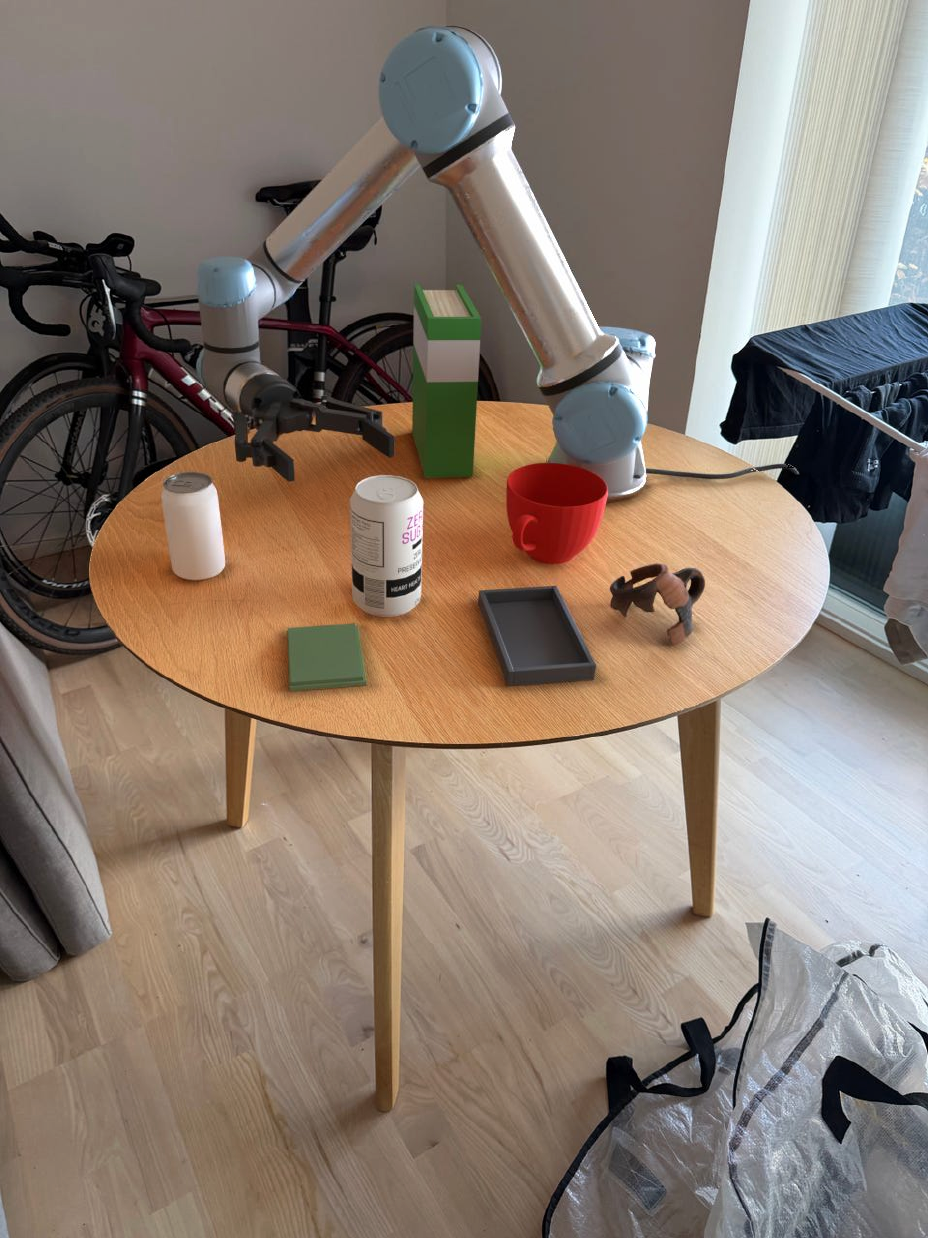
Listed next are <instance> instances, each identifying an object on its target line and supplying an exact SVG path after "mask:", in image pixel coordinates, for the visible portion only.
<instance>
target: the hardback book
mask: <svg viewBox="0 0 928 1238" xmlns="http://www.w3.org/2000/svg"><path fill="white" fill-rule="evenodd" d="M481 335H482V317H481V315H480V313H479V312H478V310H477V308H476V306H475V305H474V303H473V301H472V299H471V298H470V296H469V294H468V292H467V291H466V289H465V288H464V286H463V284H455V289H423V288H422V286H421V284H413V337H412V338H413V344H412V345H413V346H412V347H413V351H412V412H411V413H412V415H411V417H412V418H411V419H412V420H411V421H412V422H411V424H412V425H411V432H412V436H413V440H414V445H415V448H416V451H417V455H418V459H419V462H420V465H421V470H422V474H423V477H424V479H437V478H439V479H440V478H441V479H442V478H473V477H474V465H475V464H474V462H475V446H476V445H475V444H476V426H477V408H478V407H477V405H478V391H479V390H478V388H479V387H478V386H479V372H480V371H479V369H480V351H481Z"/></svg>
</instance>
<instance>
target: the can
mask: <svg viewBox="0 0 928 1238" xmlns="http://www.w3.org/2000/svg"><path fill="white" fill-rule="evenodd" d="M162 486H163V487H162V491H161V506H162V513H163V518H164V519H163V520H164V525H165V532H166V538H167V545H168V551H169V557H170V558H169V559H170V562H171V568H172V571H173V573H174V574H175V575H176V576H177V577H178V578H179V579H180V578H181V579H182V580H185V581H189V582H202V581H206V580H211V579H213V578H216V577H217V576H219V575H220V574H221V573H222V572H223V571H224V570H225V567H226V555H225V547H224V537H223V529H222V528H223V527H222V519H221V512H220V503H219V496H218V495H219V494H218V491H217V488H216V486H215V485H214V484H213V478H212V477H211V476H210V475H209V474H207V473H205V472H200V471H182V472H177V473H174V474H170V475H169V476H168V477H166V478H165V479H163V481H162Z"/></svg>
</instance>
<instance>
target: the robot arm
mask: <svg viewBox="0 0 928 1238" xmlns="http://www.w3.org/2000/svg"><path fill="white" fill-rule="evenodd" d="M501 69H502V68H501V66H500V62H499V59H498V57H497V54H496V52H495V51H494V48H493V47H492V46H491V44H490V43H489V42H488V41H487V40H486V39H485V38H484V37H483V35H480V34H479V33H477V32H476V31H474V30H473V29H471V28H468V27H465V26H459V25H447V26H441V25H439V26H437V25H428V26H424V27H420V28H417V29H416V30H415V31H413V32H411V33H409V34H407V35H406V36H405V37H403V38H402V39H400V40H399V41H398V42H397V43H396V44H395V45H394V47H392V49H391V50H390V51H389V53H388V55H387V56H386V58H385V60H384V62H383V65H382V67H381V70H380V74H379V79H378V87H377V91H378V92H377V95H378V103H379V109H380V113H381V115H382V116H381V117H379V119H378V120H377V121H376V122H375V123H374V125H372V127H370V129H369V130H368V131H367V132H366V133H365V134H364V135H363V136H362V137H361V138H360V139H359V140H358V141H357V143H356V144H355V145H354V146H353V147H352V148H351V149H350V150H349V151H348V152H347V153H346V154H345V155H344V156H343V157H342V158H341V159H340V161H338V163H337V164H335V166H334V167H332V168H331V170H330V171H329V172H328V173H327V174H326V175H325V177H323V179H321V180H320V182H318V184H317V185H316V186H315V187H314V188H313V189H312V190H311V191H310V192H309V193H308V194H307V195H306V196H305V197H304V198H303V200H302V201H301V202H300V203H298V205H297V206H296V207H295V208H294V209H293V210H292V211H291V212H290V213H289V214H288V215H287V217H286V218H285V219H284V220H282V221H281V223H280V224H279V225H278V226H276V228H275V229H274V230H273V231H272V232H271V233H270V234H269V235H268V237H266V239H265V240H264V241H263V242H262V243H261V244H260V245H258V247H257V248H256V249H255V250H254V251H253V252H252V253H251V254H250V255H249V256H248V257H247V258H246V259H245V258H243V257H239V256H238V257H236V256H214V257H212V258H211V257H210V258H205V259H203V260H201V261H200V262H199V263H198V264H197V267H196V284H197V285H196V296H197V299H198V309H199V316H200V323H201V324H200V325H201V332H202V341H203V348H202V349H201V351H199V355H198V356H197V357H198V358H197V359H196V364H195V369H196V371H195V372H196V376H197V377H198V380H199V382H200V383H201V384H202V385H203V386H204V388H205V389H206V390H207V391H208V393H209V394H210V395H211V396H212V397H214V398H215V399H217V400H219V401H221V403H223V404H224V405H226V406H227V407H228V408H229V409H231V410H232V411H233V412H232V422H233V432H234V440H233V441H234V442H233V443H234V453H235V461H236V462H238V463H244V462H246V461H247V459H249V458H250V459H251V460H252V466H253V467H255V468H260V467H265V468H271V469H272V470H274V471H275V472H276V473H278V474H279V476H281V477H282V478H283V479H284V480H285V481H287V482H288V483H291V482H295V480H296V479H295V462H294V458H293V457H292V456H290V455H289V454H288V453H287V452H285V451H284V450H283V449H282V448H280V447H279V446H278V445H276V443H274V442H277V441H278V440H279V438H280V436H282V435H285V434H286V435H287V434H292V433H295V432H303V431H306V432H313V433H321V432H322V431H323V430H324V431H330V432H337V433H344V434H350V435H356V436H361V437H362V441H363V442H365V443H367V444H368V445H369V446H371V447H372V448H374V449H375V450H377V451H378V452H380V453H381V454H382V455H384V456H385V457H387V458H388V459H392V458H395V442H396V440H395V435H393V434H392V433H390V432H388V430H387V428H386V427H384V426H383V411H382V410H381V411H380V410H377V409H373V408H369V407H364V406H361V405H357V404H353V403H350V402H346V401H342V400H338V399H336V398H334V397H332V396H330V395H326V394H324V395H321V396H320V402H312V401H310V400H306V399H303V397H302V395H301V393H300V392H299V390H298V389H297V388H296V387H295V386H294V385H293V384H292V383H290V382H289V381H287V380H286V379H284V378H283V377H281V376H280V375H279V374H278V373H276V372H275V371H273V370H272V369H270V368H269V367H267V366H266V365H264V364H263V363H262V362H261V351H260V350H261V349H260V333H259V321H260V320H261V319H263V318H264V317H265V316H267V315H269V313H271V311H274V310H275V309H276V308H277V307H280V306H282V305H283V304H285V303H286V302H287V301H288V300H289V299H290V298H292V297H293V295H294V294H295V292H296V290H297V289H298V288H299V287H300V286H301V285H302V284H303V283H304V282H305V281H306V279H307V278H309V276H310V275H311V274H313V272H314V271H315V270H317V268H319V266H321V265H322V264H323V263H324V262H325V261H326V260H327V259H328V258H329V257H330V256H331V255H332V254H333V253H334V252H335V251H337V249H338V248H339V247H340V246H341V245H342V244H343V243H344V242H345V241H346V240H347V239H348V238H349V237H350V236H352V234H353V233H354V232H355V231H356V230H357V229H358V228H359V227H360V226H361V225H363V223H364V222H365V221H366V220H368V219H369V217H370V216H372V215H373V214H374V213H375V212H376V211H377V210H378V209H379V208H380V206H382V205H383V204H384V203H385V201H387V199H389V198H390V197H391V196H392V195H393V194H394V193H395V192H396V191H397V190H398V189H399V188H400V187H401V186H402V185H403V184H404V183H405V182H406V181H407V180H408V179H409V178H410V177H412V175H413V174H414V173H415V172H416V171H417V170H418V169H419V168H421V169H422V171H423V173H424V175H425V176H426V179H427V180H428V182H429V183H433V184H436V185H438V186H442V187H444V188H445V189H447V191H448V193H449V195H450V196H451V198H452V200H453V202H454V204H455V205H456V208H457V209H458V211H459V214H460V216H461V217H462V219H463V221H464V223H465V225H466V226H467V229H468V230H469V232H470V234H471V236H472V238H473V240H474V242H475V244H476V245H477V247H478V249H479V251H480V253H481V256H482V257H483V259H484V260H485V263H486V265H487V267H488V269H489V270H490V272H491V274H492V276H493V278H494V280H495V282H496V283H497V286H498V288H499V289H500V291H501V293H502V295H503V297H504V299H505V301H506V302H507V304H508V306H509V309H510V311H511V312H512V314H513V316H514V318H515V320H516V322H517V324H518V326H519V327H520V329H521V331H522V333H523V335H524V337H525V339H526V341H527V342H528V344H529V347H530V348H531V350H532V352H533V354H534V356H535V358H536V360H537V362H538V363H539V371H538V373H537V377H536V381H535V382H536V384H537V387H538V389H539V391H540V392H541V394H542V396H543V398H544V401H545V402H546V404H547V406H548V408H549V410H550V412H551V414H552V420H551V425H552V431H553V435H554V438H555V440H556V442H555V444H554V447H553V448H552V451H551V452H550V455H549V457H548V458H547V457H545V463H562V464H568V465H573V466H578V467H581V468H584V469H587V470H589V471H591V472H593V473H595V474H597V475H598V476H600V477H601V478H602V479H603V480H604V481H605V483H606V484H607V488H608V495H607V501H606V503H615V502H616V503H617V502H622V501H627V500H630V499H633V498H635V497H637V496H639V495H640V494H641V493H643V491H644V488H645V486H646V479H647V474H650V475H661V476H670V477H681V478H690V479H691V478H693V479H703V480H727V479H734V478H738V477H742V476H744V475H748V474H751V473H757V472H756V470H758V471H759V472H766V471H772V470H778V469H779V470H781V469H782V470H787V471H789V472H791V473H792V474H793V475H800V473H799V471H798V470H797V468H796V467H794V468H787V467H788V465H789V464H788V465H786V464H787V463H772V464H765V465H760V466H752V467H753V468H755V469H756V470H754V469H753V468H752V467H747V468H744V469H740V470H737V471H734V472H729V473H701V472H693V471H692V472H690V471H681V470H670V469H661V468H648V467H646V464H645V458H644V453H643V452H644V451H643V446H642V440H643V439H642V438H643V436H644V433H645V432H646V430H647V426H648V419H649V418H648V416H649V414H648V407H649V393H650V392H649V390H650V382H651V374H652V368H653V364H654V363H653V362H654V359H656V353H655V350H656V349H655V348H656V341H655V339H654V337H653V336H652V335H650V334H648V333H646V332H643V331H641V330H636V329H630V328H626V327H625V328H623V327H615V326H600V325H599V326H598V324H597V321H596V320H595V318H594V316H593V314H592V311H591V310H590V307H589V306H588V304H587V301H586V299H585V297H584V295H583V293H582V291H581V289H580V286H579V285H578V282H577V280H576V278H575V277H574V275H573V273H572V271H571V269H570V267H569V264H568V262H567V260H566V258H565V256H564V254H563V252H562V250H561V248H560V246H559V243H558V242H557V240H556V238H555V235H554V233H553V231H552V229H551V228H550V225H549V224H548V221H547V220H546V216H545V215H544V213H543V211H542V209H541V207H540V205H539V202H538V201H537V198H536V197H535V195H534V192H533V190H532V188H531V187H530V184H529V182H528V180H527V178H526V176H525V174H524V172H523V170H522V168H521V166H520V164H519V161H518V160H517V158H516V156H515V154H514V152H513V149H512V141H513V138H514V135H515V134H514V133H515V129H516V125H515V122H514V121H513V119H512V116H511V114H510V112H509V110H508V108H507V105H506V104H505V101H504V99H503V97H502V95H501V93H502V83H503V79H502V78H503V77H502V71H501ZM314 420H315V424H314V423H313V421H314ZM252 428H254V429H255V430H256V432H255V433H254V435H253V436H252V437H251V439H250V442H249V435H250V434H251V430H252ZM790 466H791V465H790ZM790 466H789V467H790ZM784 467H785V468H784ZM751 470H753V471H751Z"/></svg>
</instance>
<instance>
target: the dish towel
mask: <svg viewBox="0 0 928 1238" xmlns="http://www.w3.org/2000/svg"><path fill="white" fill-rule="evenodd" d="M286 637H287V639H286V641H287V660H288V661H287V662H288V677H289V678H288V682H289V683H288V684H289V692H300V691H301V692H302V691H314V690H326V689H327V690H328V689H337V688H339V689H341V688H350V687H351V688H352V687H365V686H367V685H368V683H367V682H368V681H367V675H366V669H365V663H364V656H363V651H362V645H361V637H360V631H359V626H358V625H356V623H355V622H354V623H352V622H351V623H339V624H338V623H337V624H326V625H323V624H322V625H310V626H309V625H307V626H293V627H287V630H286Z"/></svg>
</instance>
